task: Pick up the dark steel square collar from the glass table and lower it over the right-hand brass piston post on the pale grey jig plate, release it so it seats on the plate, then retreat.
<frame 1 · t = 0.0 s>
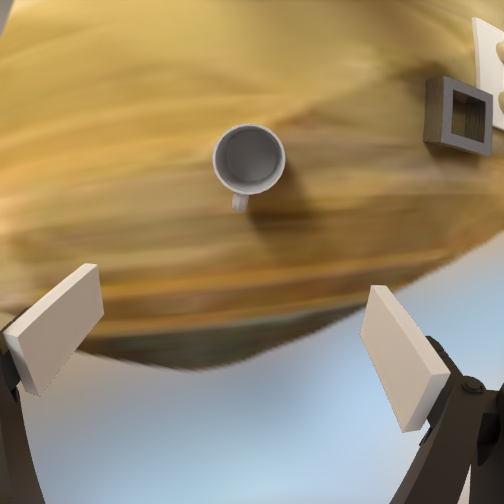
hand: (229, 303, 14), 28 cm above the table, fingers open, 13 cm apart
cup: (249, 166, 40), on the table
collar: (450, 117, 36), on the table
jig: (501, 78, 33), on the table
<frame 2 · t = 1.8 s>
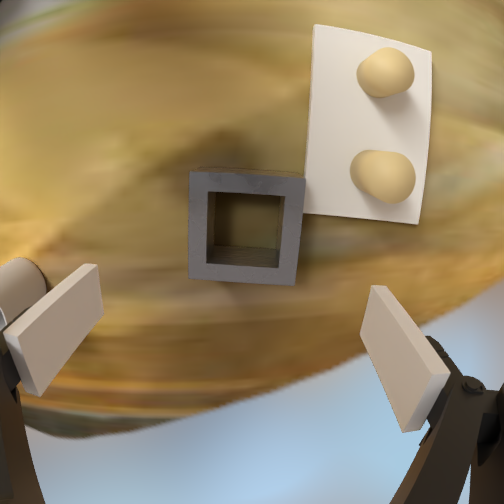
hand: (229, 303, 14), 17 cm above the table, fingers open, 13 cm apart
cup: (29, 290, 34), on the table
collar: (246, 216, 30), on the table
jig: (370, 124, 27), on the table
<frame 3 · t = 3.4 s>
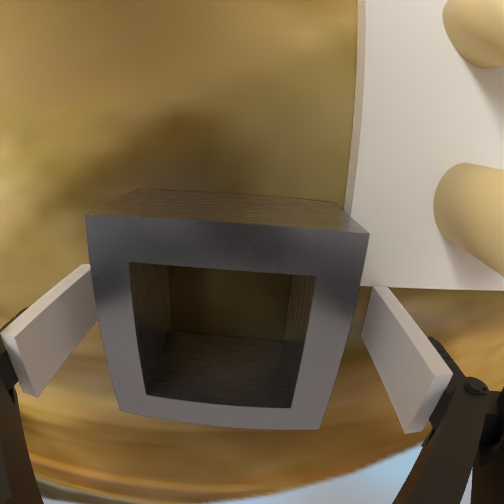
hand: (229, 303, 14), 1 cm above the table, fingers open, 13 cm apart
collar: (229, 286, 16), on the table
jig: (462, 113, 12), on the table
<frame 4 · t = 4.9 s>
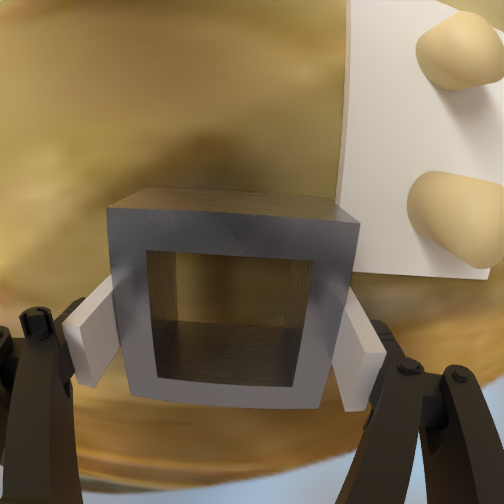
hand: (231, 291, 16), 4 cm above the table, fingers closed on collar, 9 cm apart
collar: (232, 276, 17), point 2 cm above the table, touching gripper
jig: (433, 130, 16), on the table
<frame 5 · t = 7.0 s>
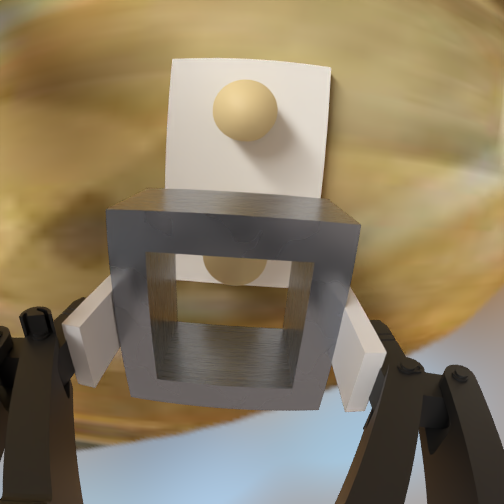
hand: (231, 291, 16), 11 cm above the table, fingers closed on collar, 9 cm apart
collar: (232, 277, 17), point 10 cm above the table, touching gripper
jig: (243, 172, 25), on the table
when the fingers open (2 cm above the table, at t = 9.2 s): collar stays where it is, resting on jig.
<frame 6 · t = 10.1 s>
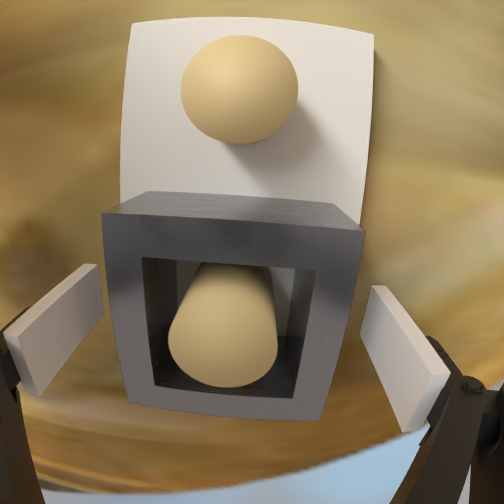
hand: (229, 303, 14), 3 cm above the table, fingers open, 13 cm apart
collar: (234, 283, 16), point 1 cm above the table, touching jig
jig: (239, 193, 16), on the table
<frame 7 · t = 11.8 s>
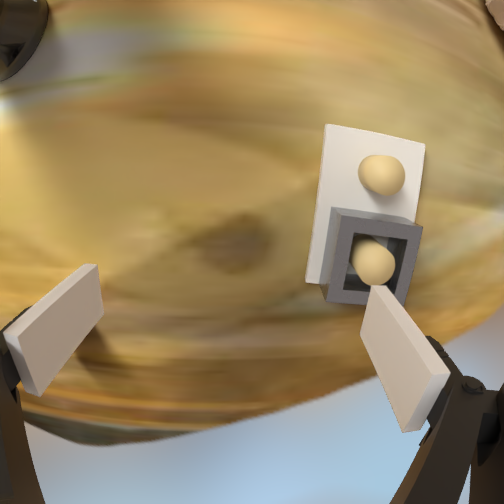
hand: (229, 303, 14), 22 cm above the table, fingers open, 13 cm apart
collar: (362, 250, 35), point 1 cm above the table, touching jig
jig: (365, 210, 35), on the table
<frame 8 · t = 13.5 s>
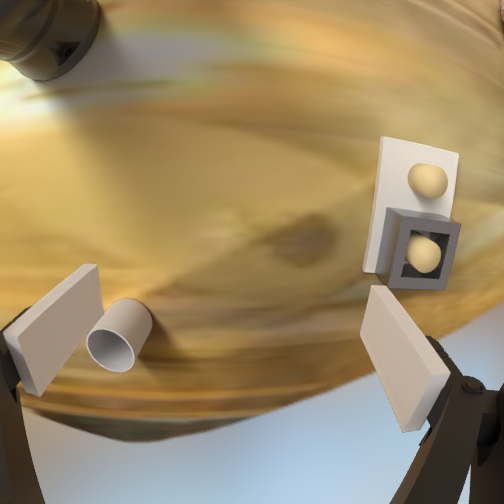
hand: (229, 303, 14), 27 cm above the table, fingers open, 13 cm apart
cup: (131, 324, 47), on the table
collar: (409, 243, 40), point 1 cm above the table, touching jig
jig: (411, 209, 39), on the table
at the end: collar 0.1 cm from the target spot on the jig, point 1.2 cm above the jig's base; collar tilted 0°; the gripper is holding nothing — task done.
